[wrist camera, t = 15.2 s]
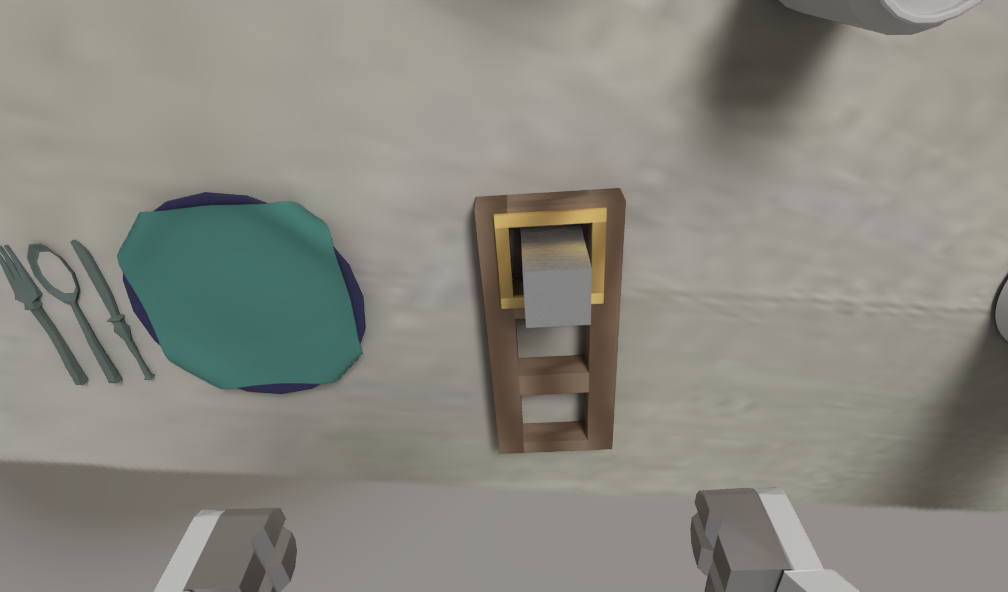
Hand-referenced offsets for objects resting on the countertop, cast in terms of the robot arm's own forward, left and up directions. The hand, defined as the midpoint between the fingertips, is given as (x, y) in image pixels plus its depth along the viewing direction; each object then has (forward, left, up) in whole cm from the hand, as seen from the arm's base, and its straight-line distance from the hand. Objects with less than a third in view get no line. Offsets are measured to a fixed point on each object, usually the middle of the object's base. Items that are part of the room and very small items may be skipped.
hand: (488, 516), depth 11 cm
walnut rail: (-3, +20, -33) cm, 39 cm away
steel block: (-3, +12, -33) cm, 35 cm away
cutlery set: (+27, +15, -34) cm, 46 cm away
